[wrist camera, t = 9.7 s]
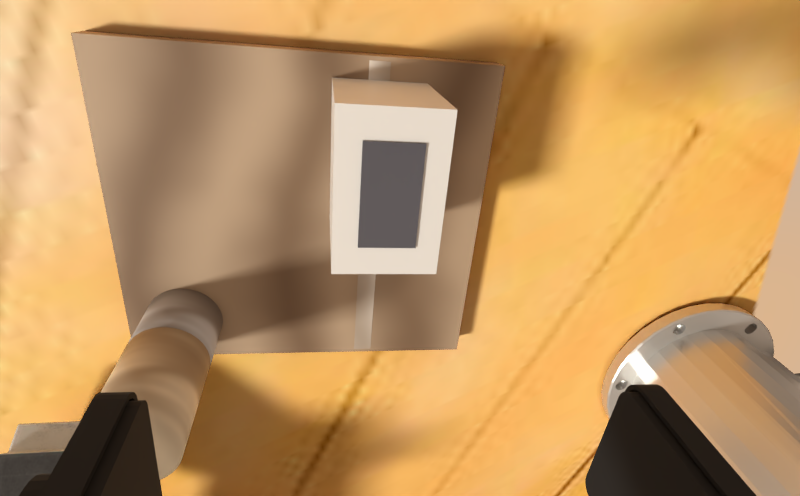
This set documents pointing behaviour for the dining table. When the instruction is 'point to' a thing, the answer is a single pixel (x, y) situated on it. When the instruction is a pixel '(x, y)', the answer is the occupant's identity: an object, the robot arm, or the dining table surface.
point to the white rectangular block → (388, 176)
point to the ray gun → (33, 453)
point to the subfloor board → (268, 188)
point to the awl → (170, 367)
